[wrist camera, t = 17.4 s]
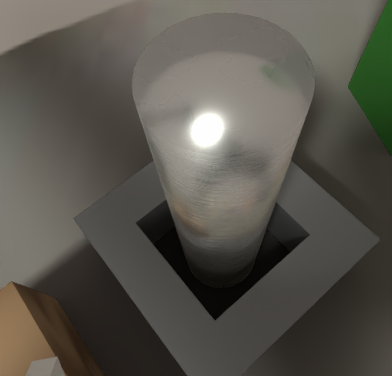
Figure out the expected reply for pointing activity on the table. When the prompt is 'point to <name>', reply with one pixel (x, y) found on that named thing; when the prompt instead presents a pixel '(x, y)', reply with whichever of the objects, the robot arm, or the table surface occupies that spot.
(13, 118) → the table surface
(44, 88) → the table surface
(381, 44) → the hardback book
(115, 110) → the table surface
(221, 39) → the translucent white cylinder
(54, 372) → the robot arm
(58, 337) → the tan hollow box
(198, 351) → the socket
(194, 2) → the table surface
